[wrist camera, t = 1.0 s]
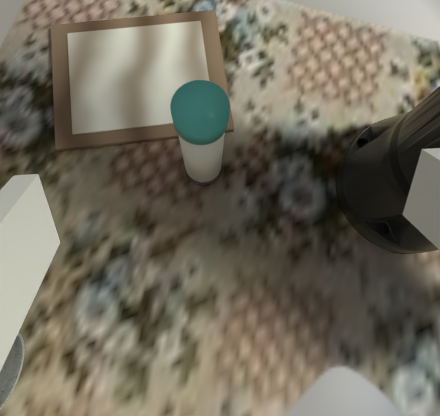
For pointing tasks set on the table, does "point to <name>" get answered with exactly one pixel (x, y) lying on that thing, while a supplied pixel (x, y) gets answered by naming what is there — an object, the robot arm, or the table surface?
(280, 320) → the table surface
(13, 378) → the ceramic mug
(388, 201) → the robot arm
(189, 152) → the marker
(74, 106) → the writing pad
